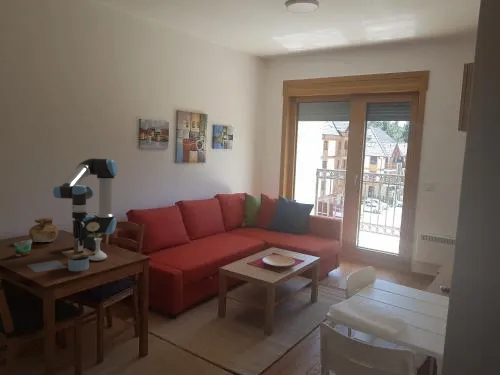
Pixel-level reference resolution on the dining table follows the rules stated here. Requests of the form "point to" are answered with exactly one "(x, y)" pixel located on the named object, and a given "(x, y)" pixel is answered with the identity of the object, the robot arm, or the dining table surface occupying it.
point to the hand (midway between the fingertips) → (78, 249)
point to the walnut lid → (78, 254)
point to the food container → (23, 248)
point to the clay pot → (43, 230)
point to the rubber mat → (46, 266)
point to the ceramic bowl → (78, 264)
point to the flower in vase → (98, 253)
